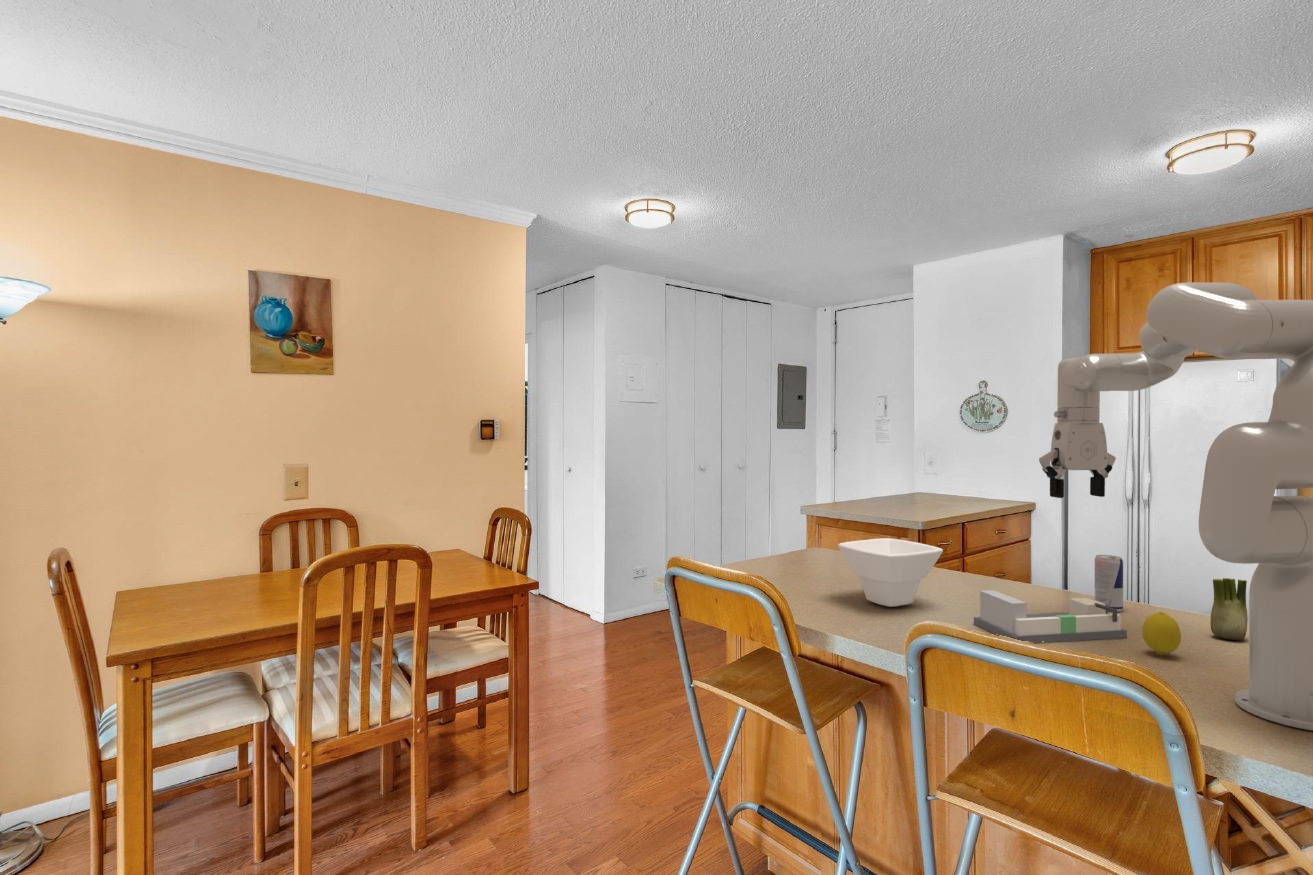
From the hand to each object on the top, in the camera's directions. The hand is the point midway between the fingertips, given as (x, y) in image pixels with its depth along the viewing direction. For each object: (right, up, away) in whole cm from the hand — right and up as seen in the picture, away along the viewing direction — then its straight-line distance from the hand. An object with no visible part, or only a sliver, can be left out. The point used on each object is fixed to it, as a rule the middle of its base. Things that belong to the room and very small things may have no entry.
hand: (1077, 496), depth 137 cm
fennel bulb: (+23, -27, -11) cm, 37 cm away
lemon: (+3, -27, -20) cm, 34 cm away
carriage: (0, -25, -6) cm, 26 cm away
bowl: (-34, -27, +16) cm, 47 cm away
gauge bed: (-9, -27, -5) cm, 29 cm away
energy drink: (+14, -27, +10) cm, 32 cm away
